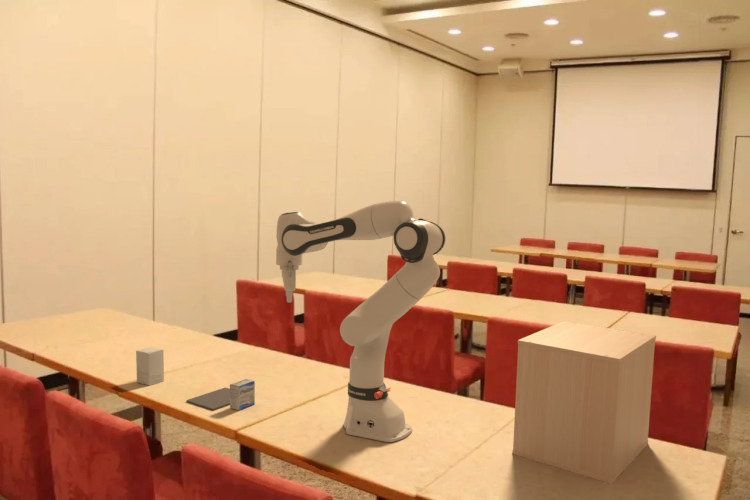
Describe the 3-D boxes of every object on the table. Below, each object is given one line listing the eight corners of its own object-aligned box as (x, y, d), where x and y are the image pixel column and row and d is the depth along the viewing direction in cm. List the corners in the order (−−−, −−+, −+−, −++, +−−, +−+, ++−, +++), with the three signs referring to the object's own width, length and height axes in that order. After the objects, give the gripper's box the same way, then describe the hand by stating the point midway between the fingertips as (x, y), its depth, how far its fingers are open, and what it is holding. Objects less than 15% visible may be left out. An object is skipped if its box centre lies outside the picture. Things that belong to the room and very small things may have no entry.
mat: (251, 396, 234) (251, 395, 234) (213, 410, 219) (213, 408, 219) (225, 388, 242) (225, 387, 242) (186, 401, 227) (186, 400, 227)
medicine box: (239, 411, 220) (239, 386, 219) (229, 408, 222) (229, 383, 221) (255, 404, 226) (255, 380, 225) (245, 402, 229) (245, 378, 228)
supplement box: (164, 381, 249) (164, 349, 248) (148, 386, 243) (148, 353, 242) (152, 377, 253) (151, 346, 252) (136, 382, 247) (135, 350, 246)
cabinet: (558, 420, 218) (564, 320, 214) (648, 443, 200) (656, 335, 197) (512, 453, 191) (517, 339, 187) (611, 483, 173) (620, 358, 169)
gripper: (300, 263, 210) (299, 305, 212) (297, 255, 230) (296, 294, 232) (280, 263, 209) (280, 305, 211) (279, 255, 229) (278, 294, 231)
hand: (288, 299), depth 221 cm, fingers open, 8 cm apart
